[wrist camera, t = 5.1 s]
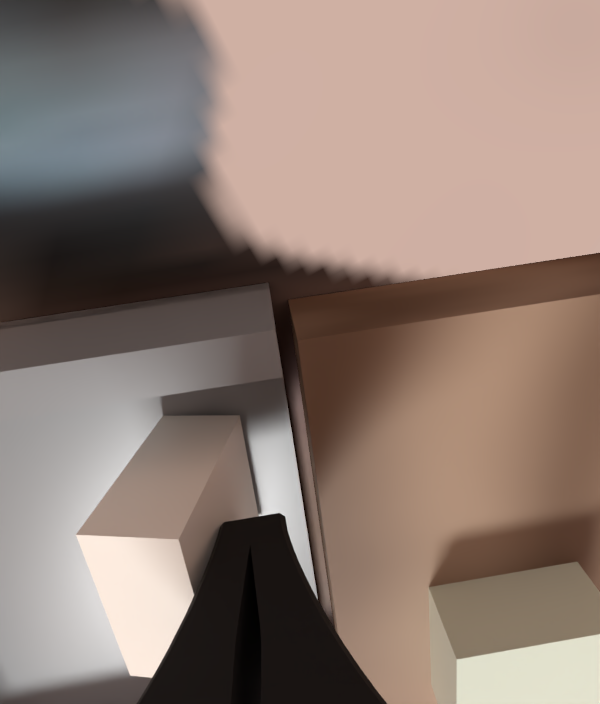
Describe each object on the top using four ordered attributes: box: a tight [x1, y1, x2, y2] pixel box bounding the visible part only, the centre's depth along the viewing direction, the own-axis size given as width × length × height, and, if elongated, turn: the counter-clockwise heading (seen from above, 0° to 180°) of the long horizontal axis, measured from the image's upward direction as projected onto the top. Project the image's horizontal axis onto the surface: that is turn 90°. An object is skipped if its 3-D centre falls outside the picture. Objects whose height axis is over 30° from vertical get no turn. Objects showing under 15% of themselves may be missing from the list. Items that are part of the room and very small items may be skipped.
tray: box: [0, 283, 318, 704], centre depth 14 cm, size 12×15×3 cm
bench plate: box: [288, 253, 600, 704], centre depth 15 cm, size 14×14×2 cm
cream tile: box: [76, 415, 258, 678], centre depth 12 cm, size 4×4×2 cm
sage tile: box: [429, 562, 600, 704], centre depth 14 cm, size 4×4×2 cm
